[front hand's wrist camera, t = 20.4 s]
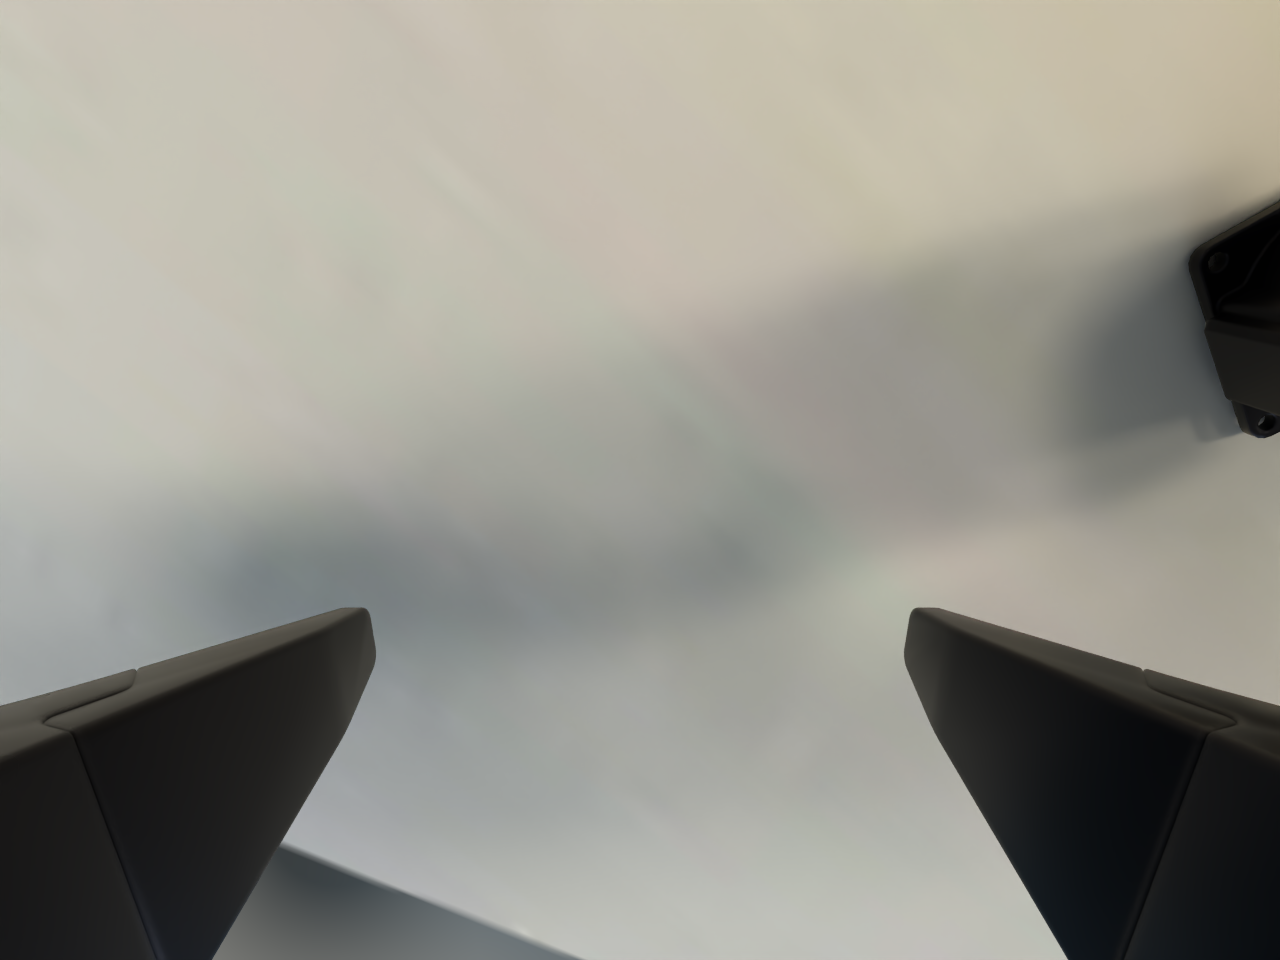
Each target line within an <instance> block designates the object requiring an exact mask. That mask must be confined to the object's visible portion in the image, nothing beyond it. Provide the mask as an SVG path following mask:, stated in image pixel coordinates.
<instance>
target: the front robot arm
mask: <svg viewBox="0 0 1280 960" xmlns="http://www.w3.org/2000/svg"><path fill="white" fill-rule="evenodd" d="M1214 254H1215V255H1216V261H1215V263H1214V265H1213V266H1212V267H1211V268H1209V267H1208V261H1209V259H1210V257H1211V256H1212V255H1214ZM1189 271H1190V274H1191V277H1192V281H1193V284H1194V287H1195V290H1196V293H1197V296H1198V299H1199V302H1200V305H1201V308H1202V311H1203V315H1204V318H1205V321H1206V325H1205V330H1204V332H1205V335H1206V338H1207V341H1208V344H1209V348H1210V351H1211V354H1212V357H1213V360H1214V363H1215V366H1216V369H1217V372H1218V375H1219V378H1220V381H1221V384H1222V387H1223V390H1224V394H1225V396H1226V398H1227V399H1229V400H1231V401H1232V404H1233V407H1234V410H1235V414H1236V417H1237V420H1238V423H1239V426H1240V428H1241V430H1242V431H1243V432H1245V433H1247V434H1249V435H1252V436H1255V437H1257V438H1266V437H1269V436H1272V435H1274V434H1276V433H1278V432H1280V202H1278V203H1276V204H1274V205H1273V206H1271V207H1269V208H1267V209H1265V210H1264V211H1262V212H1260V213H1258V214H1256V215H1255V216H1253V217H1251V218H1249V219H1247V220H1246V221H1244V222H1242V223H1240V224H1238V225H1237V226H1235V227H1233V228H1231V229H1229V230H1228V231H1226V232H1224V233H1222V234H1220V235H1219V236H1217V237H1215V238H1213V239H1211V240H1210V241H1208V242H1206V243H1204V244H1202V245H1201V246H1200V247H1198V248H1197V249H1196V250H1195V251H1194V253H1193V254H1192V255H1191V257H1190V261H1189ZM1264 416H1265V419H1264V421H1263V423H1261V424H1260V425H1259V426H1258V423H1259V421H1260V419H1261V418H1262V417H1264ZM375 659H376V648H375V642H374V636H373V630H372V624H371V618H370V614H369V612H368V610H367V609H365V608H340V609H337V610H333V611H330V612H327V613H323V614H320V615H316V616H313V617H310V618H306V619H303V620H300V621H296V622H293V623H289V624H286V625H283V626H279V627H276V628H273V629H269V630H266V631H262V632H259V633H256V634H252V635H249V636H246V637H242V638H239V639H235V640H232V641H229V642H225V643H222V644H218V645H215V646H212V647H208V648H205V649H202V650H198V651H195V652H191V653H188V654H185V655H181V656H178V657H175V658H171V659H168V660H164V661H161V662H158V663H154V664H151V665H148V666H144V667H141V668H139V669H138V670H137V671H136V670H135V669H131V670H128V671H124V672H121V673H117V674H114V675H111V676H107V677H104V678H100V679H97V680H93V681H90V682H86V683H83V684H79V685H76V686H72V687H69V688H65V689H61V690H58V691H54V692H50V693H47V694H43V695H39V696H36V697H32V698H28V699H25V700H21V701H17V702H13V703H10V704H6V705H2V706H0V960H212V959H213V957H214V955H215V953H216V952H217V950H218V948H219V947H220V945H221V943H222V942H223V940H224V938H225V937H226V935H227V933H228V931H229V930H230V928H231V926H232V925H233V923H234V921H235V920H236V918H237V916H238V914H239V913H240V911H241V909H242V908H243V906H244V904H245V903H246V901H247V899H248V897H249V896H250V894H251V892H252V891H253V889H254V887H255V886H256V884H257V882H258V881H259V879H260V877H261V875H262V874H263V872H264V870H265V869H266V867H267V865H268V864H269V862H270V860H271V858H272V857H273V855H274V853H275V852H276V850H277V848H278V847H279V845H280V843H281V841H282V840H283V838H284V836H285V835H286V833H287V831H288V830H289V828H290V826H291V825H292V823H293V821H294V819H295V818H296V816H297V814H298V813H299V811H300V809H301V808H302V806H303V804H304V802H305V801H306V799H307V797H308V796H309V794H310V792H311V791H312V789H313V787H314V785H315V784H316V782H317V780H318V779H319V777H320V775H321V774H322V772H323V770H324V768H325V767H326V765H327V763H328V762H329V760H330V758H331V757H332V755H333V753H334V751H335V750H336V748H337V746H338V745H339V743H340V741H341V739H342V738H343V736H344V734H345V732H346V730H347V728H348V726H349V724H350V722H351V719H352V717H353V715H354V712H355V710H356V708H357V705H358V703H359V701H360V698H361V696H362V694H363V691H364V689H365V686H366V684H367V682H368V679H369V677H370V675H371V672H372V670H373V668H374V665H375ZM904 659H905V665H906V668H907V670H908V672H909V675H910V677H911V679H912V682H913V684H914V686H915V689H916V691H917V694H918V696H919V698H920V701H921V703H922V705H923V708H924V710H925V712H926V715H927V717H928V719H929V722H930V724H931V726H932V728H933V730H934V732H935V734H936V736H937V738H938V739H939V741H940V743H941V745H942V746H943V748H944V750H945V752H946V753H947V755H948V757H949V758H950V760H951V762H952V763H953V765H954V767H955V768H956V770H957V772H958V774H959V775H960V777H961V779H962V780H963V782H964V784H965V785H966V787H967V789H968V791H969V792H970V794H971V796H972V797H973V799H974V801H975V802H976V804H977V806H978V808H979V809H980V811H981V813H982V814H983V816H984V818H985V819H986V821H987V823H988V825H989V826H990V828H991V830H992V831H993V833H994V835H995V836H996V838H997V840H998V841H999V843H1000V845H1001V847H1002V848H1003V850H1004V852H1005V853H1006V855H1007V857H1008V858H1009V860H1010V862H1011V864H1012V865H1013V867H1014V869H1015V870H1016V872H1017V874H1018V875H1019V877H1020V879H1021V881H1022V882H1023V884H1024V886H1025V887H1026V889H1027V891H1028V892H1029V894H1030V896H1031V898H1032V899H1033V901H1034V903H1035V904H1036V906H1037V908H1038V909H1039V911H1040V913H1041V915H1042V916H1043V918H1044V920H1045V921H1046V923H1047V925H1048V926H1049V928H1050V930H1051V931H1052V933H1053V935H1054V937H1055V938H1056V940H1057V942H1058V943H1059V945H1060V947H1061V948H1062V950H1063V952H1064V954H1065V955H1066V957H1067V959H1068V960H1280V706H1278V705H1274V704H1270V703H1267V702H1263V701H1259V700H1255V699H1252V698H1248V697H1244V696H1241V695H1237V694H1233V693H1230V692H1226V691H1222V690H1219V689H1215V688H1211V687H1208V686H1204V685H1201V684H1197V683H1194V682H1190V681H1187V680H1183V679H1180V678H1176V677H1173V676H1169V675H1166V674H1163V673H1159V672H1156V671H1152V670H1149V669H1145V670H1144V671H1143V670H1142V669H1141V668H1139V667H1136V666H1132V665H1129V664H1126V663H1122V662H1119V661H1116V660H1112V659H1109V658H1105V657H1102V656H1099V655H1095V654H1092V653H1089V652H1085V651H1082V650H1078V649H1075V648H1072V647H1068V646H1065V645H1062V644H1058V643H1055V642H1051V641H1048V640H1045V639H1041V638H1038V637H1034V636H1031V635H1028V634H1024V633H1021V632H1018V631H1014V630H1011V629H1007V628H1004V627H1001V626H997V625H994V624H991V623H987V622H984V621H980V620H977V619H974V618H970V617H967V616H964V615H960V614H957V613H953V612H950V611H947V610H943V609H940V608H915V609H913V610H912V612H911V614H910V618H909V624H908V630H907V636H906V642H905V648H904Z"/></svg>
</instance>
